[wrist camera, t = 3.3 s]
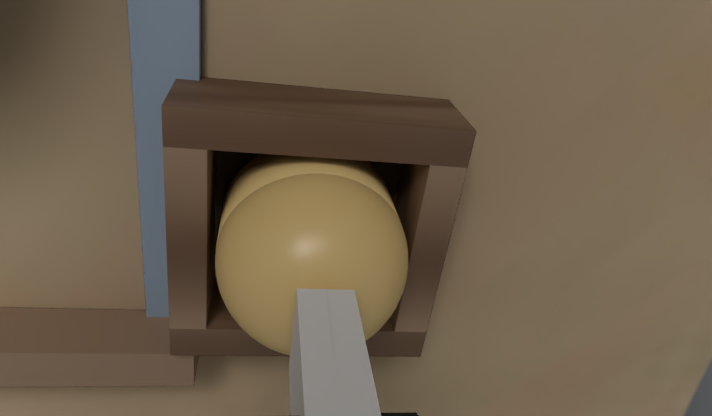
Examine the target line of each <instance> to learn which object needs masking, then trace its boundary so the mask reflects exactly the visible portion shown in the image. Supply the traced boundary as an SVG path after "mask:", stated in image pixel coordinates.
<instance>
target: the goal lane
mask: <svg viewBox="0 0 712 416" xmlns="http://www.w3.org/2000/svg"><path fill="white" fill-rule="evenodd" d="M127 3H128V20H129V36H130V53H131V69H132V86H133V102H134V119H135V135H136V152H137V168H138V185H139V201H140V218H141V234H142V250H143V267H144V283H145V300H146V310H109V309H54V308H0V387H81V386H194V382H195V376H196V370H197V364H198V357H199V356H175V355H170V332H169V304H168V277H167V249H166V221H165V194H164V166H163V138H162V111H161V105H162V103H163V102H164V100H165V98H166V96H167V94H168V92H169V91H170V89H171V87H172V85H173V83H174V81H175V80H176V79H186V80H197V81H199V80H200V78H201V0H127Z"/></svg>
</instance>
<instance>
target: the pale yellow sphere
mask: <svg viewBox="0 0 712 416" xmlns="http://www.w3.org/2000/svg"><path fill="white" fill-rule="evenodd" d="M215 272H216V278H217V283H218V287H219V291H220V294H221V296H222V299H223V301H224V303H225V305H226V308H227V309H228V311H229V313H230V314H231V316H232V317H233V318H234V320H235V321H236V322H237V323H238V325H239V326H240V327H241V328H242V329H243V330H244V331H245V332H246V333H247V334H248V335H249V336H251V337H252V338H253V339H255V340H256V341H258V342H259V343H261V344H262V345H264V346H266V347H268V348H269V349H272V350H274V351H277V352H279V353H283V354H287V355H290V351H291V341H292V331H293V321H294V311H295V301H296V291H297V288H300V289H338V290H355V294H356V298H357V303H358V308H359V313H360V317H361V322H362V327H363V332H364V336H365V341H366V340H368V339H369V338H370V337H372V336H373V335H374V334H375V333H376V332H377V331H379V330H380V329H381V328H382V326H383V325H384V324H385V323H386V322H387V320H388V319H389V318H390V317H391V315H392V314H393V312H394V310H395V309H396V307H397V305H398V303H399V300H400V298H401V296H402V294H403V291H404V287H405V284H406V279H407V273H408V247H407V241H406V237H405V233H404V230H403V227H402V224H401V221H400V219H399V216H398V214H397V211H396V209H395V206H394V204H393V201H392V199H391V196H390V194H389V191H388V189H387V186H386V184H385V183H384V181H383V179H382V177H381V176H380V174H379V173H378V172H377V170H376V169H375V168H374V167H373V166H372V165H371V164H370V163H369V162H368V161H360V160H346V159H331V158H317V157H303V156H288V155H274V154H259V155H258V156H257V157H255V158H254V159H252V160H251V161H250V162H248V163H247V164H246V165H245V166H244V167H243V168H242V169H241V170H240V171H239V173H238V174H237V175H236V176H235V178H234V179H233V181H232V183H231V184H230V186H229V188H228V190H227V193H226V195H225V199H224V203H223V207H222V213H221V219H220V225H219V231H218V238H217V244H216V253H215Z"/></svg>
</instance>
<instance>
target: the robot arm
mask: <svg viewBox="0 0 712 416" xmlns="http://www.w3.org/2000/svg"><path fill="white" fill-rule="evenodd" d="M289 387H290V416H418V415H417V413H381V412H380V407H379V403H378V398H377V393H376V388H375V384H374V379H373V374H372V369H371V365H370V360H369V355H368V351H367V346H366V341H365V336H364V332H363V327H362V322H361V317H360V313H359V308H358V303H357V298H356V294H355V290H338V289H300V288H297V291H296V301H295V311H294V321H293V331H292V341H291V351H290V361H289Z"/></svg>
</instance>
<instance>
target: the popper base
mask: <svg viewBox="0 0 712 416" xmlns="http://www.w3.org/2000/svg"><path fill="white" fill-rule="evenodd" d="M161 111H162V138H163V166H164V194H165V221H166V249H167V277H168V304H169V332H170V355H175V356H290V355H287V354H283V353H279V352H277V351H274V350H272V349H269V348H268V347H266V346H264V345H262V344H261V343H259V342H258V341H256V340H255V339H253V338H252V337H251V336H249V335H248V334H247V333H246V332H245V331H244V330H243V329H242V328H241V327H240V326H239V325H238V323H237V322H236V321H235V320H234V318H233V317H232V316H231V314H230V313H229V311H228V309H227V308H226V305H225V303H224V301H223V299H222V296H221V294H220V291H219V287H218V283H217V278H216V277H214V266H215V189H216V151H230V152H245V153H259V154H274V155H288V156H303V157H317V158H331V159H346V160H360V161H375V162H389V163H403V165H402V170H401V176H400V181H399V186H398V192H397V197H396V202H395V209H396V211H397V214H398V216H399V219H400V221H401V224H402V227H403V230H404V233H405V237H406V241H407V247H408V273H407V279H406V284H405V287H404V291H403V294H402V296H401V298H400V300H399V303H398V305H397V307H396V309H395V310H394V312H393V314H392V315H391V317H390V318H389V319H388V320H387V322H386V323H385V324H384V325H383V326H382V328H381V329H380V330H379V331H377V332H376V333H375V334H374V335H373V336H372V337H370V338H369V339H368V340H366V346H367V351H368V355H369V356H408V357H420V356H421V352H422V348H423V344H424V340H425V336H426V332H427V328H428V324H429V320H430V316H431V312H432V308H433V304H434V300H435V296H436V292H437V288H438V284H439V280H440V276H441V272H442V268H443V264H444V260H445V256H446V252H447V248H448V244H449V240H450V236H451V232H452V228H453V224H454V220H455V216H456V212H457V208H458V204H459V200H460V196H461V192H462V188H463V184H464V180H465V176H466V172H467V168H468V164H469V160H470V156H471V152H472V148H473V144H474V140H475V136H476V132H477V131H476V130H475V129H474V128H473V127H472V126H471V124H470V123H469V122H468V121H467V120H466V119H465V118H464V117H463V115H462V114H461V113H460V112H459V111H458V110H457V109H456V108H455V106H454V105H453V104H452V103H451V102H450V101H449V100H445V99H434V98H423V97H412V96H401V95H390V94H379V93H368V92H357V91H346V90H336V89H325V88H314V87H303V86H292V85H281V84H270V83H259V82H248V81H237V80H227V79H216V78H205V77H201V78H200V80H199V81H197V80H186V79H176V80H175V81H174V83H173V85H172V87H171V89H170V91H169V92H168V94H167V96H166V98H165V100H164V102H163V103H162V105H161Z"/></svg>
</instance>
